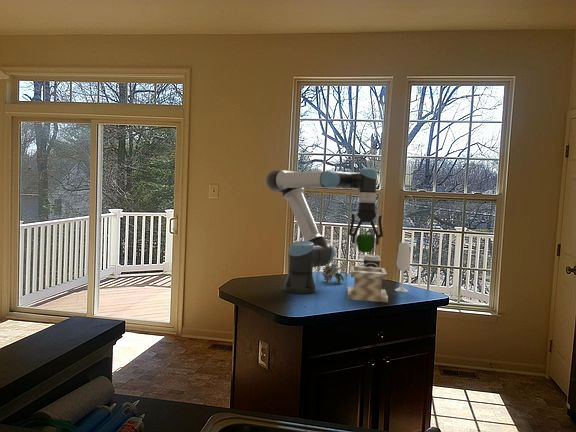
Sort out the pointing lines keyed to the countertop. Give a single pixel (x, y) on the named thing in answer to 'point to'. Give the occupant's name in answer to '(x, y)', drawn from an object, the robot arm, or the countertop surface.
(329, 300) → the countertop surface
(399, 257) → the champagne flute
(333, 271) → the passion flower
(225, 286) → the countertop surface
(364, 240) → the bell pepper
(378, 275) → the display stand
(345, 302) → the countertop surface
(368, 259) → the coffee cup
